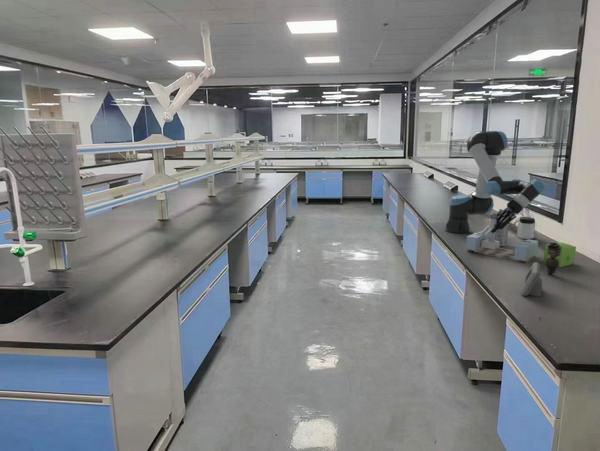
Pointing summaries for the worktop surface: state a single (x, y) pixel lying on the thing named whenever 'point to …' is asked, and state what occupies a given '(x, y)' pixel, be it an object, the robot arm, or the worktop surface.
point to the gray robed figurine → (532, 281)
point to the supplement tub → (502, 235)
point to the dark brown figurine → (553, 257)
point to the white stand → (491, 241)
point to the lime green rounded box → (563, 254)
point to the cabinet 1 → (475, 240)
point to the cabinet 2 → (526, 249)
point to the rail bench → (500, 253)
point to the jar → (526, 228)
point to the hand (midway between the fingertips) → (484, 235)
